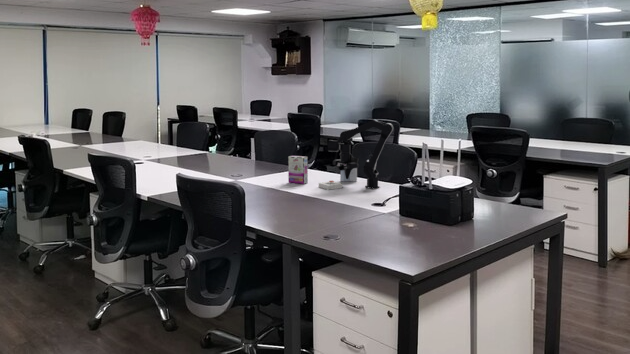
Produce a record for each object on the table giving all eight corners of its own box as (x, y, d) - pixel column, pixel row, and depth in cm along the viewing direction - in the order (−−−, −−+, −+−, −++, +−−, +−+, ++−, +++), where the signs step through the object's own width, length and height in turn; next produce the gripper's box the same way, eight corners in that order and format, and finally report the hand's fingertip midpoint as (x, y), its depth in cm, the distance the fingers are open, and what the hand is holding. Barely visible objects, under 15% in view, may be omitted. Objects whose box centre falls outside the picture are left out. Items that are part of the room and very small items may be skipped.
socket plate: (342, 187, 342) (342, 182, 342) (327, 189, 337) (328, 184, 337) (332, 185, 351) (332, 180, 350) (318, 186, 346) (318, 181, 345)
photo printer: (356, 180, 367) (356, 160, 365) (357, 181, 363) (357, 161, 361) (339, 180, 366) (340, 161, 363) (341, 181, 361) (341, 162, 359)
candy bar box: (308, 183, 357) (308, 156, 354) (304, 184, 353) (304, 157, 350) (292, 181, 362) (292, 155, 359) (288, 182, 358) (287, 156, 355)
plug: (349, 180, 347) (349, 167, 346) (344, 181, 345) (344, 167, 344) (345, 179, 351) (346, 166, 349) (340, 180, 348) (340, 166, 347)
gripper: (366, 153, 341) (365, 179, 344) (347, 149, 357) (347, 174, 360) (350, 154, 335) (350, 181, 338) (332, 150, 351) (332, 176, 354)
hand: (345, 178), depth 348 cm, fingers closed on plug, 4 cm apart
